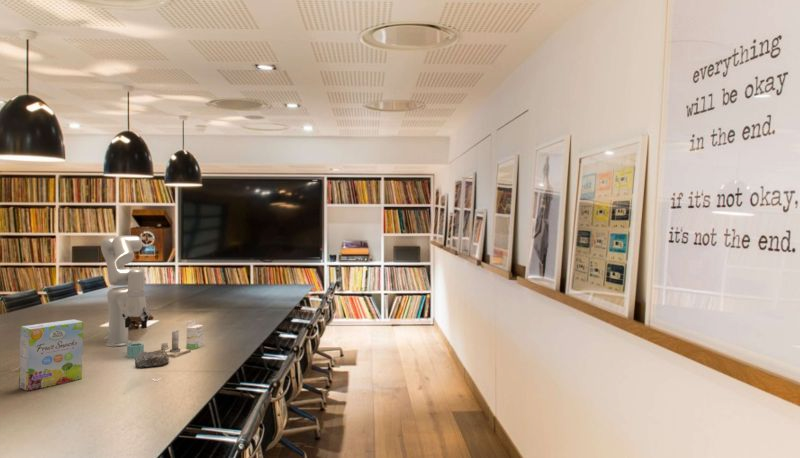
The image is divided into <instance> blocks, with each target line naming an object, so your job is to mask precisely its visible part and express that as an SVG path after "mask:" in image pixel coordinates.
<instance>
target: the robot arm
mask: <svg viewBox="0 0 800 458" xmlns="http://www.w3.org/2000/svg"><path fill="white" fill-rule="evenodd" d="M142 247H143V241H142V239H141V237H140V236H138V235H118V236H117V235H116V236H111V237H110V236H109V237H105V238H103V239H102V241H101V242H100V249H101V254H102V256H103V258H104V261H105V262H106V268H107V269H106V270H107V278H108V283H109V285H110V286H112V288H110V289H109V290H108V291H107V294H106V297H107V299H106V300H107V302H108V303H107V305H108V335H106V336H104V337H103V340H104V341H106V342H105V346H106V347H109V348H110V347H112V348H114V347H124V346H127V345H128V344H132V340H130V339H129V328H131V326H132V321H131V320H132V319H131V318H140V319H141V321H140V324H141V326H140V328H141V329H142V330H143V329H146V328H147V325H148V320H149V318H151V317H150V316H151V314H152V311H150V310H149V309H147V308H148V307H147V299H146V297H145V271H144V270H143V269H141V268H139V267H132V268H131V267H130V268H129V267H127V268H126V267H125V265H128V264H129V263H132V262H133V261H134V259H135V253H134V252H138V251H141V249H142ZM113 286H116V287H113Z"/></svg>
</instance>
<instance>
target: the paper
mask: <svg viewBox="0 0 800 458" xmlns="http://www.w3.org/2000/svg"><path fill="white" fill-rule="evenodd" d="M161 378H162V377H159V378H154V377H153V378H152V380H154V381H153V382H159V381H161V380H160V379H161ZM152 380H151V381H152Z"/></svg>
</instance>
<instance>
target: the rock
mask: <svg viewBox="0 0 800 458" xmlns="http://www.w3.org/2000/svg"><path fill="white" fill-rule="evenodd" d="M157 350H158V349H157ZM153 351H154V352H152V351H144V352H141V353H139V354H138V355H137V357H136V358H135V361H134V366H137V367H138V368H141V369H142V368H149V367H150V368H152V367H156V366H157V367H158V366H163V365H164V364H167V363H168V362H169V360H170V357H168V355H167V353H166V351H165V350H158V351H155V350H153Z"/></svg>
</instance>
